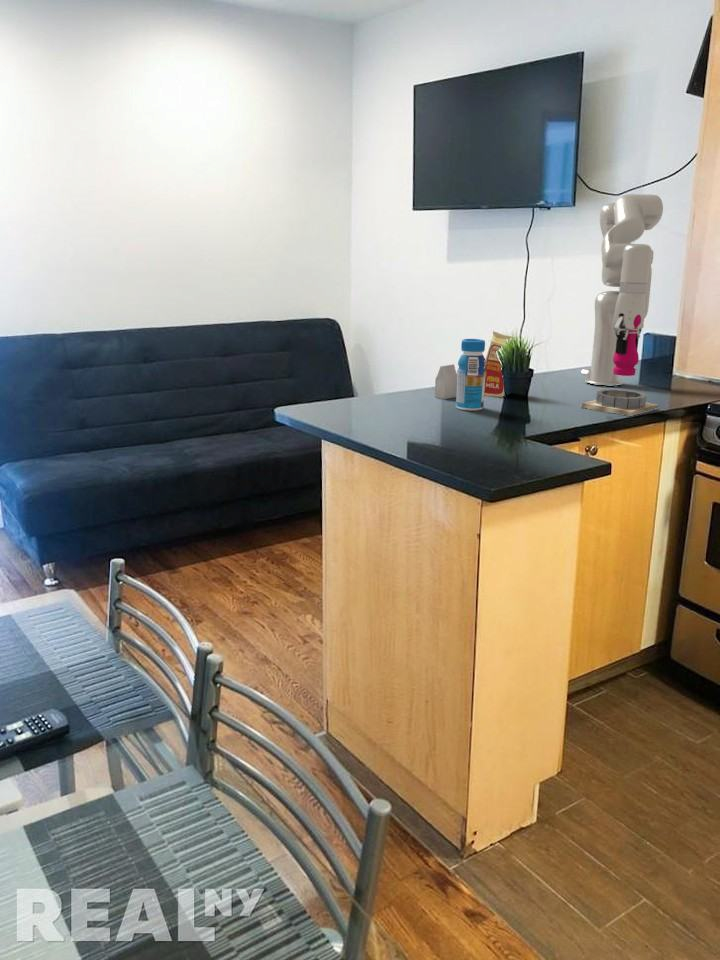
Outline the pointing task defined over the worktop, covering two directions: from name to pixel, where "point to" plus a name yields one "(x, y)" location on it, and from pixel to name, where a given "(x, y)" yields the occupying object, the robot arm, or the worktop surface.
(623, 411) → the birch board
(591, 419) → the worktop surface
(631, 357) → the pepper mill
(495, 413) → the worktop surface
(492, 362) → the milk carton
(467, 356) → the beverage bottle
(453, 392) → the tea bag
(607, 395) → the steel ring collar
